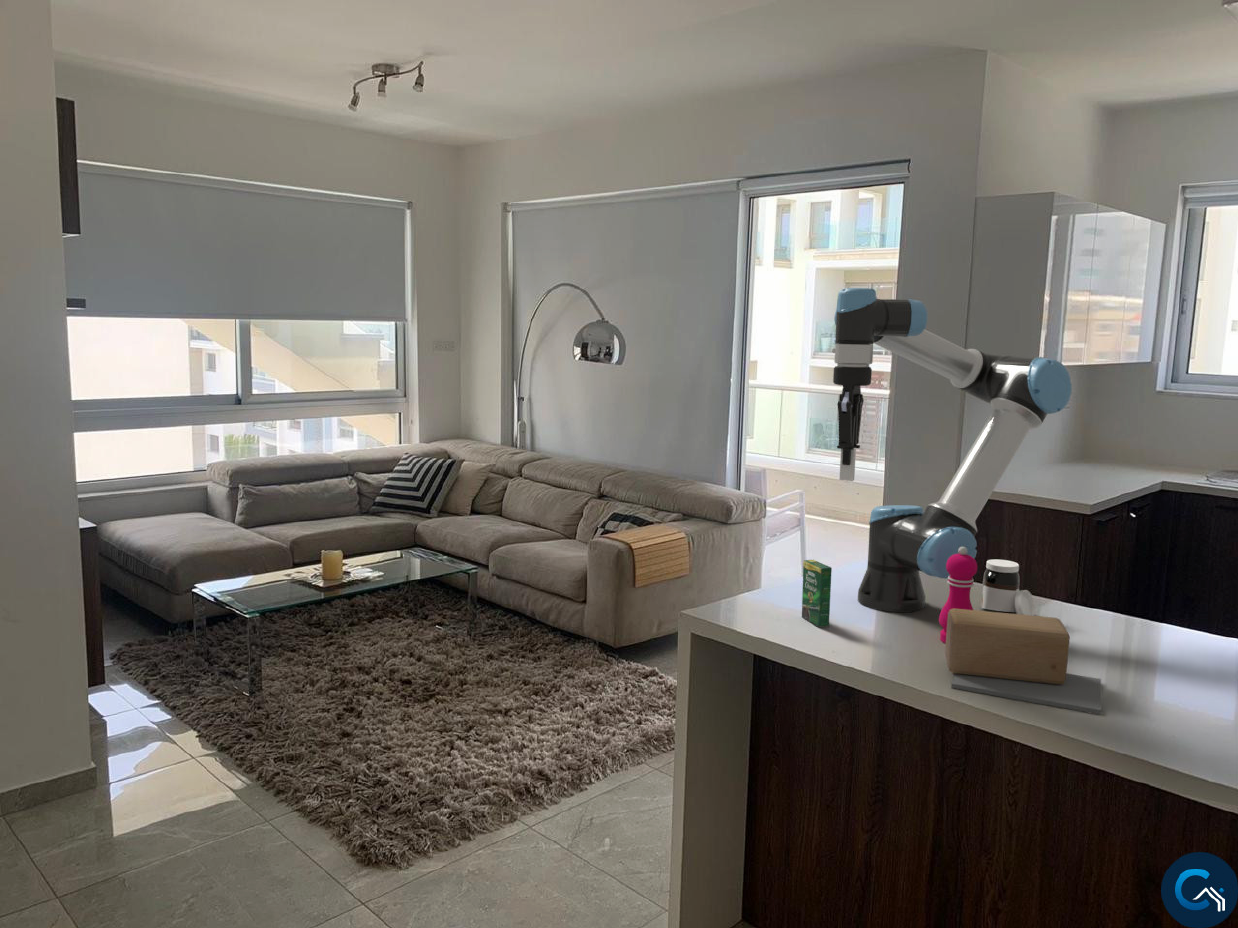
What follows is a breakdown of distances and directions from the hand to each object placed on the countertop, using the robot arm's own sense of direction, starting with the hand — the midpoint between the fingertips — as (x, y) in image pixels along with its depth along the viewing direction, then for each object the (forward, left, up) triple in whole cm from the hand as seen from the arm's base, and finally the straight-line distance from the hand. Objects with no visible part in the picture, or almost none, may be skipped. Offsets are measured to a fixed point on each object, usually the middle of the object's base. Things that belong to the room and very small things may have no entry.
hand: (846, 479), depth 194 cm
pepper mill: (-5, +23, -33) cm, 40 cm away
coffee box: (-3, -6, -33) cm, 33 cm away
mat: (+14, +38, -32) cm, 52 cm away
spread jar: (-30, +31, -33) cm, 54 cm away
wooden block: (+13, +23, -27) cm, 37 cm away
